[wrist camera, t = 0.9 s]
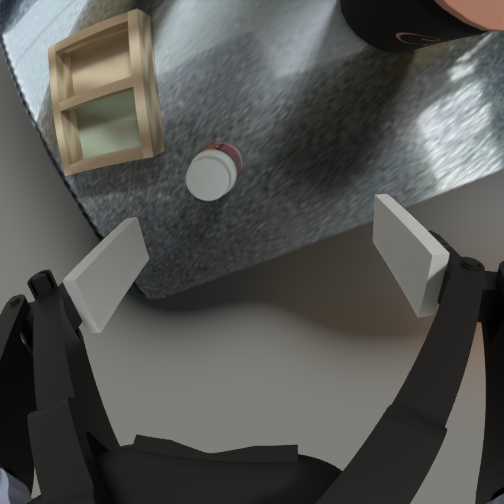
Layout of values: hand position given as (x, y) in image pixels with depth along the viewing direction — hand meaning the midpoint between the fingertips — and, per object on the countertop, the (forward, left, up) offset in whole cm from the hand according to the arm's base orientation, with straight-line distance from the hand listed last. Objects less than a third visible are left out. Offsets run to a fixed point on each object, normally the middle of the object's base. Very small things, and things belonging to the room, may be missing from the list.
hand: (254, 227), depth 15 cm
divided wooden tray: (-11, -18, -19) cm, 28 cm away
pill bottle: (0, -5, -19) cm, 20 cm away
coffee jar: (-18, +15, -19) cm, 31 cm away
